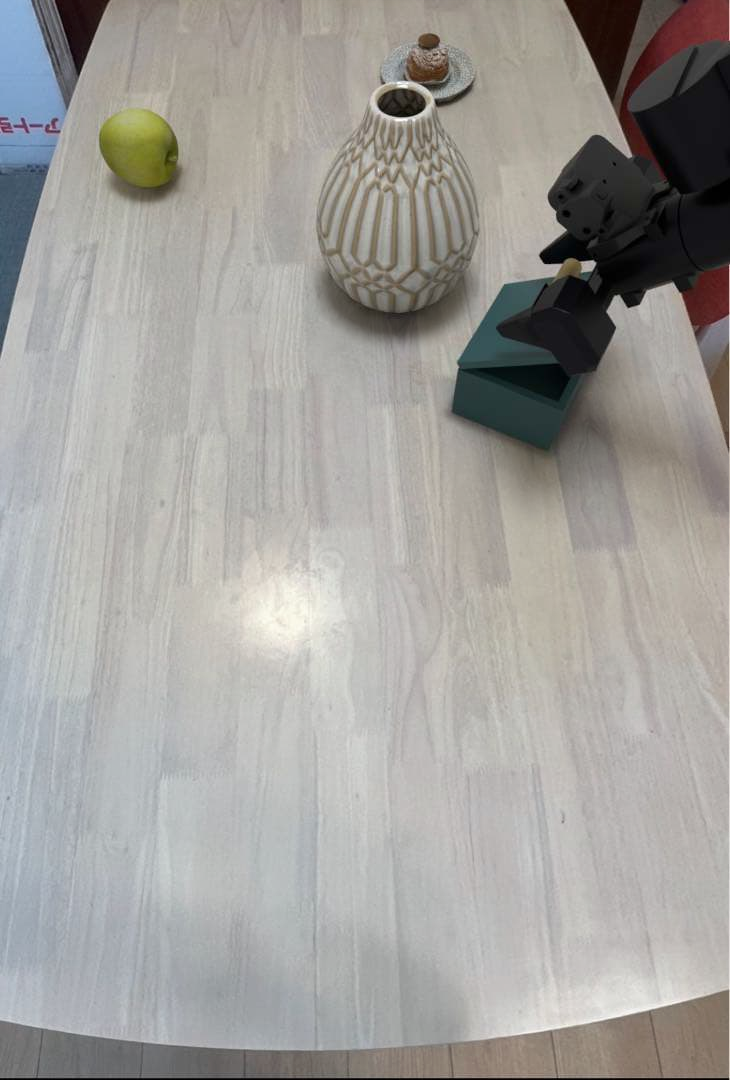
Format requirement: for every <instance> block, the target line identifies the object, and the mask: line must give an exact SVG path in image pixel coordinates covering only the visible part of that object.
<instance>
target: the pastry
mask: <svg viewBox="0 0 730 1080" xmlns="http://www.w3.org/2000/svg"><path fill="white" fill-rule="evenodd" d="M476 71H477V70H476V65H475V62H474V60H473V58H472V57H471V56H470V55H469V54H468V53H467V52H466V51H464V49H461V48H458V47H457V46H455V45H453V44H450V43H446V42H443V41H441V39H440V37H439V35H438V34H435V33H432V32H430V33H429V32H428V33H423V34H421V35H420V36H418V39H417V41H415V42H409V43H406V44H402V45H400V46H398V47H396V48H394V49H393V50H392V51H390V53H388V54H387V55H386V56H385V57H384V59H383V61H382V63H381V65H380V76H381V79H382V81H383V83H384V84H386V83H390V82H394V81H409V82H414V83H417V84H420V85H422V86H423V87H425V88H426V89H428V90H429V91H430V92H431V94H432V96H433V98H434V101H435V104H436V103H437V104H442V103H446V102H447V103H448V102H451V101H452V100H453V99H455V98H456V97H458V96H460V95H461V93H463V92H465V91H466V89H467V88H469V86H470V84H472V82H473V81H474V79H475V75H476Z"/></svg>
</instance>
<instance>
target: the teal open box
mask: <svg viewBox="0 0 730 1080" xmlns="http://www.w3.org/2000/svg"><path fill="white" fill-rule="evenodd" d="M588 374H589V373H587V374H583V375H578V376H568V375H567V374H566V373H565V371H564V370H563V368H562V367H561V365H560V364H559V363H552V364H536V365H520V366H504V367H488V368H471V369H460V368H459V367H458V368H457V371H456V379H455V384H454V385H455V386H454V392H453V400H452V405H451V412H452V413H453V414H456V415H459V416H460V417H463V418H466V419H467V420H471V421H472V422H475V423H477V424H480V425H483V426H485V427H487V428H490V429H492V430H495V431H497V432H499V433H502V434H504V435H507V436H509V437H511V438H514V439H515V440H518V441H521V442H524V443H526V444H528V445H530V446H533V447H536V448H538V449H541V450H543V451H545V452H547V453H548V452H549V451H550V449H551V448H552V446H553V443H554V442H555V440H556V438H557V435H558V434H559V431H560V430H561V428H562V426H563V424H564V422H565V420H566V418H567V416H568V414H569V412H570V410H571V408H572V407H573V404H574V402H575V400H576V398H577V396H578V394H579V392H580V391H581V388H582V386H583V384H584V382H585V381H586V378H587V376H588Z"/></svg>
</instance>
